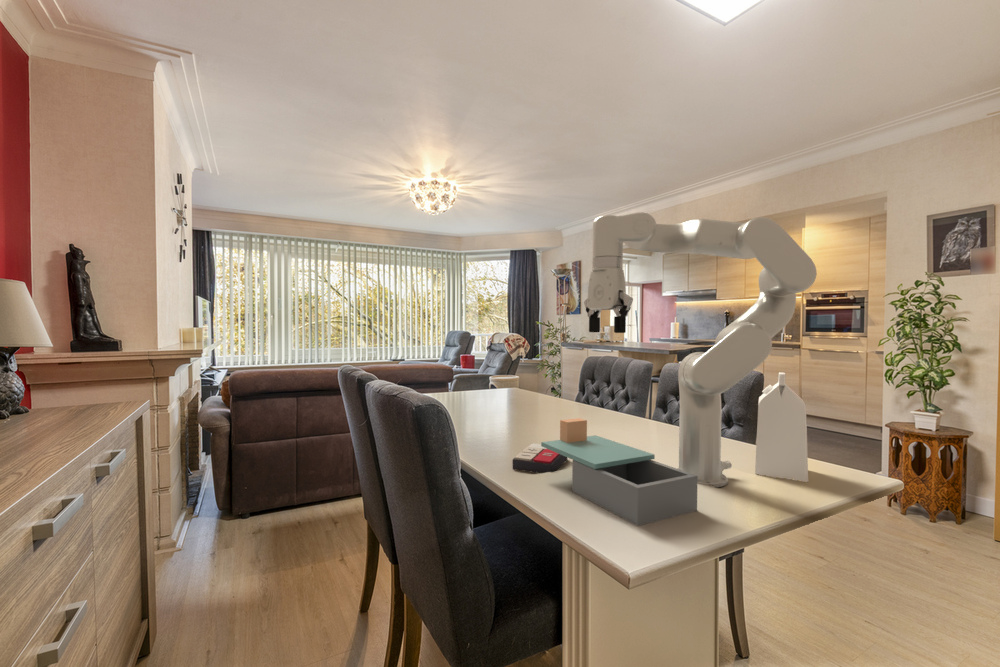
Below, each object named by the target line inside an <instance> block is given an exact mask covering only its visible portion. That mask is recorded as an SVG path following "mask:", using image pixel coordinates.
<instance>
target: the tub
mask: <svg viewBox="0 0 1000 667" xmlns="http://www.w3.org/2000/svg"><path fill="white" fill-rule="evenodd" d="M571 473H572V475H571V476H572V481H571V482H572V485H571V489H572V490H571V491H572V493H574V494H575V495H578V496H579V497H582V498H583V499H585V500H588V501H589V502H591V503H593V504H595V505H597V506H599V507H601V508H603V509H605V510H607V511H608V512H611V513H612V514H613V515H616V516H618V517H619V518H621V519H623V520H625V521H628V522H629V523H631V524H633V525H635V526H636V527H639V526H642V525H646V524H651V523H654V522H659V521H663V520H666V519H671V518H674V517H677V516H678V517H679V516H682V515H686V514H691V513H695V512H698V484H697V482H698V476H697V475H694V474H691V473H688V472H685V471H682V470H679V469H678V468H676V467H673V466H670V465H668V464H664V463H661V462H658V461H655V460H654V459H652V460H646V461H640V462H634V463H628V464H622V465H616V466H610V467H604V468H598V469H594V468H591V467H589V466H587V465H584V464H582V463H580V462H577V461H575V460H572V472H571Z"/></svg>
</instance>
